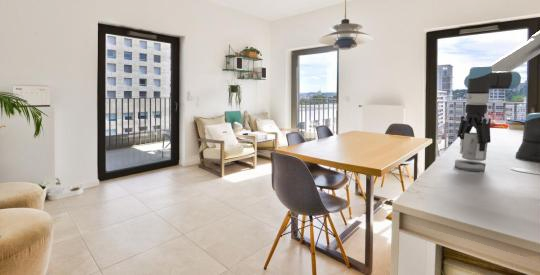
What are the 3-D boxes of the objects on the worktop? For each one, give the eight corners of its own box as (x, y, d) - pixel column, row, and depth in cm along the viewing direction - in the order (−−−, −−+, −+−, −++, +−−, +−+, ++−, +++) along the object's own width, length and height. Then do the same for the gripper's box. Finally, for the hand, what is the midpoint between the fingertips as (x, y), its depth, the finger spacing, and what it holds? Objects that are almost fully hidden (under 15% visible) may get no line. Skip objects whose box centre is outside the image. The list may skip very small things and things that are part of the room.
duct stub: (471, 165, 131) (472, 158, 130) (491, 172, 120) (492, 165, 119) (448, 165, 130) (449, 159, 130) (466, 172, 119) (467, 165, 119)
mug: (466, 155, 130) (469, 131, 128) (488, 159, 123) (491, 134, 121) (454, 159, 123) (457, 134, 122) (477, 163, 116) (480, 136, 115)
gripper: (451, 102, 131) (446, 150, 134) (488, 105, 110) (481, 162, 113) (466, 102, 131) (461, 150, 135) (507, 105, 110) (499, 161, 114)
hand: (470, 155), depth 124 cm, fingers closed on mug, 8 cm apart
